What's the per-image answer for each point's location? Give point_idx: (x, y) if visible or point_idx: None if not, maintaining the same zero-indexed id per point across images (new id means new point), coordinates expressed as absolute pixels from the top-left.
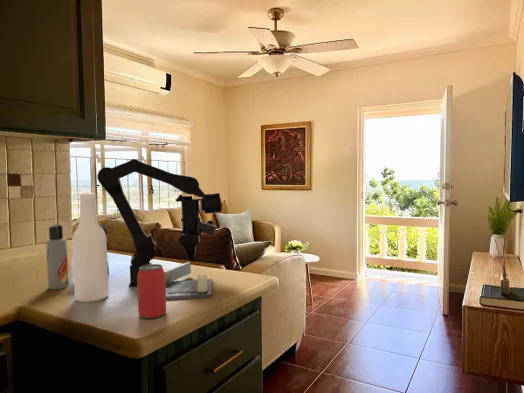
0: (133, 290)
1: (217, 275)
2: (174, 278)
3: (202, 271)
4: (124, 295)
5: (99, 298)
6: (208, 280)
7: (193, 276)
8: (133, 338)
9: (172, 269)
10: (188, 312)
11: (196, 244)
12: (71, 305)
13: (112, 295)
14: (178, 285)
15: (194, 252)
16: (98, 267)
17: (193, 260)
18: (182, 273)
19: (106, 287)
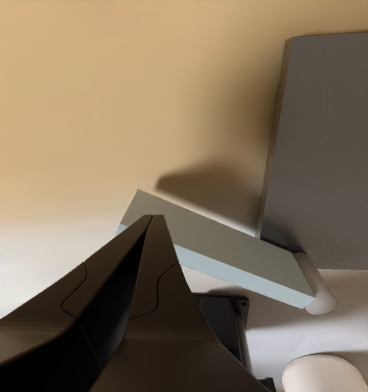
0: (285, 320)
1: (113, 16)
2: (268, 248)
3: (27, 133)
4: (329, 330)
5: (352, 365)
6: (318, 67)
7: (133, 170)
8: None
9: (293, 291)
10: None
11: (236, 367)
12: None
13: (313, 347)
14: (343, 219)
15: (176, 259)
16: None
17: (163, 216)
18: (209, 228)
19: (349, 386)
